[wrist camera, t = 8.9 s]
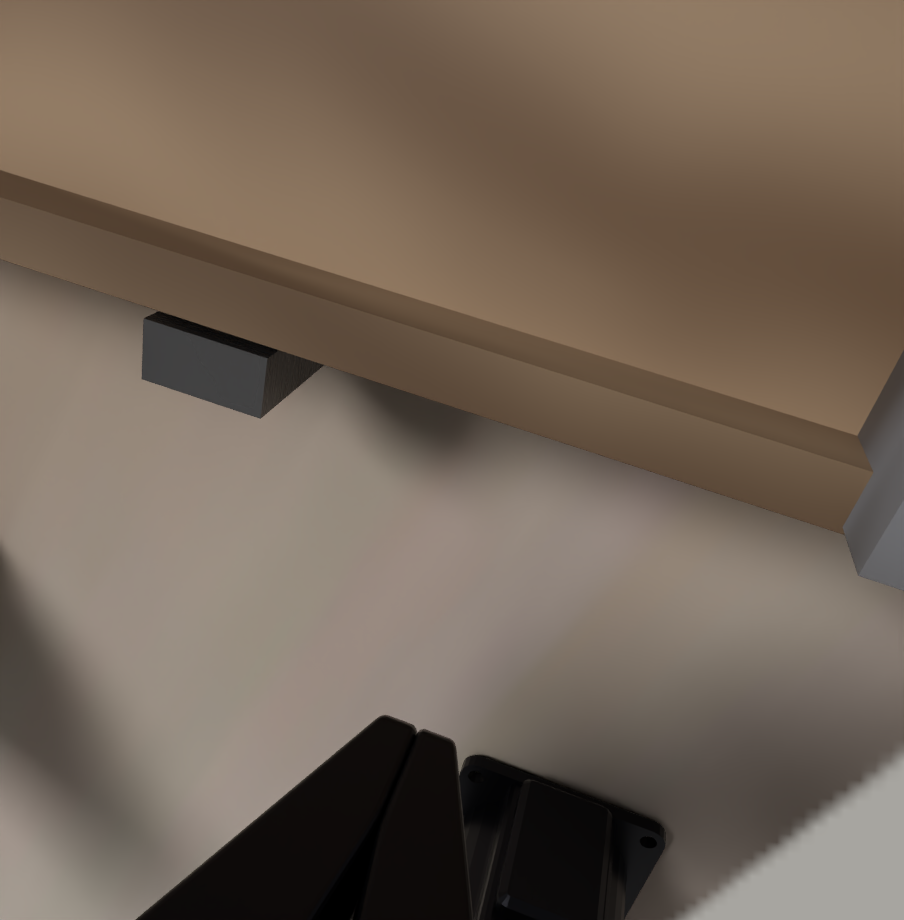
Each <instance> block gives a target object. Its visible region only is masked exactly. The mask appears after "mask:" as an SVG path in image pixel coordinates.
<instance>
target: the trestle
mask: <svg viewBox="0 0 904 920" xmlns="http://www.w3.org/2000/svg"><path fill="white" fill-rule="evenodd" d="M322 366H324V365H323V364H320V363H317V362H314V361H311V360H308V359H305V358H301V357H298V356H295V355H292V354H289V353H286V352H283V351H280V350H277V349H274V348H271V347H268V346H265V345H262V344H259V343H256V342H252V341H249V340H246V339H243V338H240V337H237V336H234V335H231V334H228V333H225V332H222V331H219V330H216V329H213V328H210V327H207V326H203V325H200V324H197V323H194V322H191V321H188V320H185V319H182V318H179V317H176V316H173V315H170V314H167V313H164V312H161V311H158V312H156V313H154V314H152V315H150V316H148V317H146V318H144V325H143V356H142V379H143V380H146V381H149V382H152V383H155V384H158V385H161V386H164V387H167V388H170V389H173V390H176V391H179V392H182V393H185V394H188V395H191V396H194V397H197V398H200V399H203V400H206V401H209V402H212V403H215V404H218V405H221V406H224V407H227V408H230V409H233V410H236V411H239V412H242V413H245V414H248V415H251V416H254V417H257V418H260V419H261V418H262V417H263V416H264V415H265V414H267V413H268V412H269V411H270V410H271V409H273V408H274V407H275V406H276V405H277V404H278V403H280V402H281V401H282V400H283V399H284V398H286V397H287V396H288V395H289V394H290V393H292V392H293V391H294V390H295V389H296V388H297V387H299V386H300V385H301V384H302V383H303V382H305V381H306V380H307V379H308V378H309V377H311V376H312V375H313V374H314V373H315V372H317V371H318V370H319V369H320V368H321V367H322Z"/></svg>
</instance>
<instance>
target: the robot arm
mask: <svg viewBox="0 0 904 920" xmlns="http://www.w3.org/2000/svg"><path fill="white" fill-rule="evenodd" d="M416 734H417V735H416ZM475 771H478V772H480V773H477V772H475ZM646 836H648V837H646ZM665 841H666V832H665V830H664V828H663V827H662V826H661V825H660V824H659V823H657V822H655V821H653V820H650V819H647V818H645V817H642V816H639V815H637V814H634V813H631V812H629V811H626V810H623V809H621V808H618V807H615V806H613V805H610V804H607V803H605V802H602V801H599V800H597V799H594V798H591V797H589V796H586V795H583V794H581V793H578V792H575V791H573V790H570V789H568V788H565V787H562V786H560V785H557V784H554V783H552V782H549V781H546V780H544V779H541V778H538V777H536V776H533V775H530V774H528V773H525V772H522V771H520V770H517V769H514V768H512V767H509V766H506V765H504V764H501V763H498V762H496V761H493V760H490V759H488V758H485V757H482V756H478V755H474V756H469V757H467V758H466V759H465V761H464V763H463V766H462V769H461V772H460V775H459V771H458V761H457V751H456V746H455V743H454V741H453V740H451V739H450V738H447V737H444V736H442V735H439V734H436V733H434V732H431V731H428V730H425V729H423V730H420V731H419V732H418V733H417V730H416V728H415V726H414V725H412V724H410V723H407V722H404V721H402V720H399V719H396V718H394V717H391V716H388V715H383V716H380V717H378V718H377V719H376V720H374V721H373V722H372V723H371V724H370V725H368V726H367V727H366V728H365V729H364V730H362V731H361V732H360V733H359V734H358V735H356V736H355V737H354V738H353V739H352V740H350V741H349V742H348V743H347V744H346V745H344V746H343V747H342V748H341V749H340V750H338V751H337V752H336V753H335V754H334V755H332V756H331V757H330V758H329V759H328V760H326V761H325V762H324V763H323V764H322V765H320V766H319V767H318V768H317V769H316V770H314V771H313V772H312V773H311V774H310V775H308V776H307V777H306V778H305V779H304V780H302V781H301V782H300V783H299V784H298V785H296V786H295V787H294V788H293V789H292V790H290V791H289V792H288V793H287V794H286V795H284V796H283V797H282V798H281V799H280V800H278V801H277V802H276V803H275V804H274V805H272V806H271V807H270V808H269V809H268V810H266V811H265V812H264V813H263V814H262V815H260V816H259V817H258V818H257V819H256V820H254V821H253V822H252V823H251V824H250V825H248V826H247V827H246V828H245V829H244V830H242V831H241V832H240V833H239V834H238V835H236V836H235V837H234V838H233V839H232V840H230V841H229V842H228V843H227V844H226V845H224V846H223V847H222V848H221V849H220V850H218V851H217V852H216V853H215V854H214V855H212V856H211V857H210V858H209V859H208V860H206V861H205V862H204V863H203V864H202V865H200V866H199V867H198V868H197V869H196V870H194V871H193V872H192V873H191V874H190V875H188V876H187V877H186V878H185V879H184V880H182V881H181V882H180V883H179V884H178V885H176V886H175V887H174V888H173V889H172V890H170V891H169V892H168V893H167V894H166V895H164V896H163V897H162V898H161V899H160V900H159V901H157V902H156V903H155V904H154V905H153V906H151V907H150V908H149V909H148V910H147V911H145V912H144V913H143V914H142V915H141V916H139V917H138V918H137V919H136V920H352V919H353V920H624V919H625V917H626V915H627V913H628V912H629V910H630V908H631V906H632V904H633V903H634V901H635V899H636V897H637V896H638V894H639V892H640V890H641V889H642V887H643V885H644V883H645V882H646V880H647V878H648V876H649V875H650V873H651V871H652V869H653V868H654V866H655V864H656V862H657V861H658V859H659V857H660V855H661V854H662V852H663V850H664V848H665Z"/></svg>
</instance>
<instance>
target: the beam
mask: <svg viewBox="0 0 904 920" xmlns="http://www.w3.org/2000/svg"><path fill="white" fill-rule="evenodd" d="M0 259H1V260H4V261H7V262H10V263H14V264H17V265H20V266H23V267H26V268H29V269H32V270H35V271H38V272H41V273H44V274H47V275H50V276H53V277H56V278H59V279H63V280H66V281H69V282H72V283H75V284H78V285H81V286H84V287H87V288H90V289H93V290H96V291H99V292H102V293H105V294H109V295H112V296H115V297H118V298H121V299H124V300H127V301H130V302H133V303H136V304H139V305H142V306H145V307H148V308H151V309H154V310H158V311H161V312H164V313H167V314H170V315H173V316H176V317H179V318H182V319H185V320H188V321H191V322H194V323H197V324H200V325H203V326H207V327H210V328H213V329H216V330H219V331H222V332H225V333H228V334H231V335H234V336H237V337H240V338H243V339H246V340H249V341H252V342H256V343H259V344H262V345H265V346H268V347H271V348H274V349H277V350H280V351H283V352H286V353H289V354H292V355H295V356H298V357H301V358H305V359H308V360H311V361H314V362H317V363H320V364H323V365H326V366H329V367H332V368H335V369H338V370H341V371H344V372H347V373H351V374H354V375H357V376H360V377H363V378H366V379H369V380H372V381H375V382H378V383H381V384H384V385H387V386H390V387H393V388H396V389H400V390H403V391H406V392H409V393H412V394H415V395H418V396H421V397H424V398H427V399H430V400H433V401H436V402H439V403H442V404H445V405H449V406H452V407H455V408H458V409H461V410H464V411H467V412H470V413H473V414H476V415H479V416H482V417H485V418H488V419H491V420H494V421H498V422H501V423H504V424H507V425H510V426H513V427H516V428H519V429H522V430H525V431H528V432H531V433H534V434H537V435H540V436H543V437H547V438H550V439H553V440H556V441H559V442H562V443H565V444H568V445H571V446H574V447H577V448H580V449H583V450H586V451H589V452H593V453H596V454H599V455H602V456H605V457H608V458H611V459H614V460H617V461H620V462H623V463H626V464H629V465H632V466H635V467H638V468H642V469H645V470H648V471H651V472H654V473H657V474H660V475H663V476H666V477H669V478H672V479H675V480H678V481H681V482H684V483H687V484H691V485H694V486H697V487H700V488H703V489H706V490H709V491H712V492H715V493H718V494H721V495H724V496H727V497H730V498H733V499H736V500H740V501H743V502H746V503H749V504H752V505H755V506H758V507H761V508H764V509H767V510H770V511H773V512H776V513H779V514H782V515H785V516H789V517H792V518H795V519H798V520H801V521H804V522H807V523H810V524H813V525H816V526H819V527H822V528H825V529H828V530H831V531H835V532H838V533H841V534H844V535H845V536H846V539H847V543H848V546H849V549H850V552H851V555H852V558H853V561H854V564H855V567H856V570H857V573H858V576H861V577H864V578H867V579H870V580H873V581H876V582H879V583H882V584H885V585H888V586H891V587H894V588H897V589H900V590H903V591H904V0H0Z"/></svg>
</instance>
